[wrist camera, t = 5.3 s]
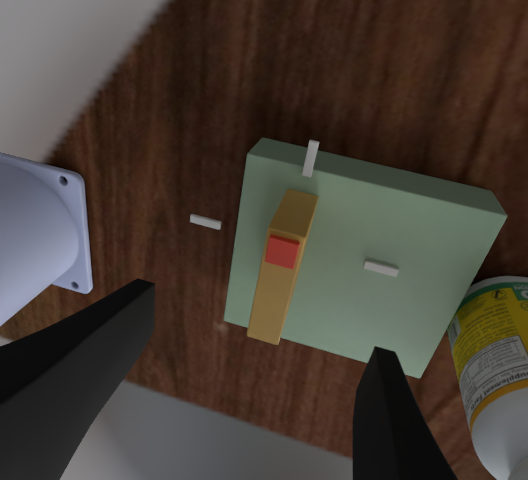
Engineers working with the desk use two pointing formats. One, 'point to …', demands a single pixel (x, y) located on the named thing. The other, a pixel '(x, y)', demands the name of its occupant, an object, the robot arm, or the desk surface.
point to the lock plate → (363, 251)
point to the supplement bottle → (495, 371)
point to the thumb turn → (281, 265)
